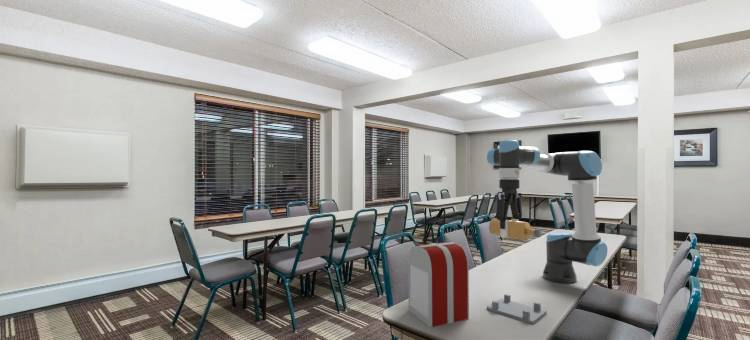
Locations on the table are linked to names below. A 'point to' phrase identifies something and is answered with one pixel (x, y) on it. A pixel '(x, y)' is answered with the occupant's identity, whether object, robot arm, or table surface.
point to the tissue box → (439, 283)
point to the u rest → (517, 310)
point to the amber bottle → (514, 229)
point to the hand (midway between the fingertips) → (509, 235)
